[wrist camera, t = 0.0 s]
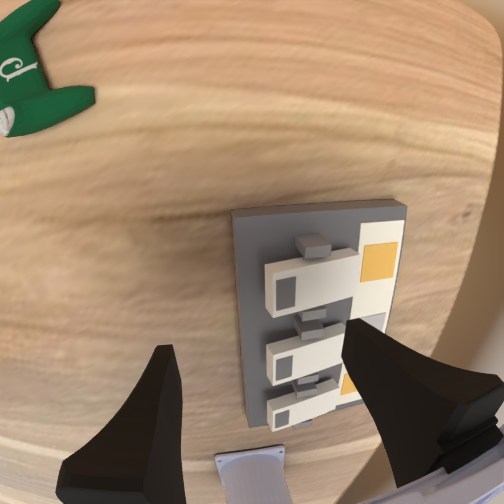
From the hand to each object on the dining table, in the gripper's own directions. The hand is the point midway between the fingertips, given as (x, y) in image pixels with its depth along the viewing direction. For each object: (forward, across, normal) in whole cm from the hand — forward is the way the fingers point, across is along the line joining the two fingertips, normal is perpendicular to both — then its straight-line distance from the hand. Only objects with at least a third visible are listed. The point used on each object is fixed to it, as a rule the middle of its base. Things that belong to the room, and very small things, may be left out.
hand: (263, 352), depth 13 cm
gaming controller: (+10, +12, -14) cm, 21 cm away
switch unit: (+10, -6, +7) cm, 14 cm away
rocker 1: (+7, -4, +1) cm, 8 cm away
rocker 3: (+7, -4, +13) cm, 15 cm away
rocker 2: (+7, -4, +7) cm, 11 cm away
